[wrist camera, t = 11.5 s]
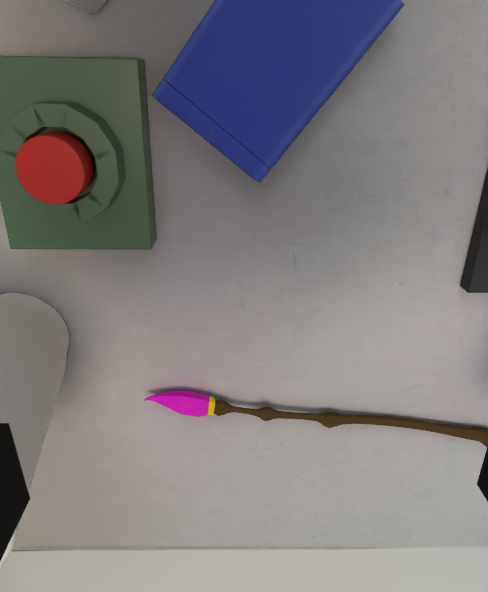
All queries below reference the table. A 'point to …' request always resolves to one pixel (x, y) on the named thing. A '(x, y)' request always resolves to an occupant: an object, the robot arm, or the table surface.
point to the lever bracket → (478, 250)
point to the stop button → (54, 167)
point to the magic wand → (304, 415)
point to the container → (87, 5)
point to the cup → (29, 375)
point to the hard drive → (267, 71)
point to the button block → (93, 136)
